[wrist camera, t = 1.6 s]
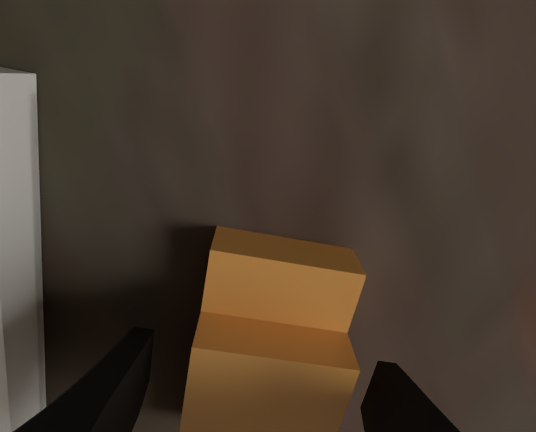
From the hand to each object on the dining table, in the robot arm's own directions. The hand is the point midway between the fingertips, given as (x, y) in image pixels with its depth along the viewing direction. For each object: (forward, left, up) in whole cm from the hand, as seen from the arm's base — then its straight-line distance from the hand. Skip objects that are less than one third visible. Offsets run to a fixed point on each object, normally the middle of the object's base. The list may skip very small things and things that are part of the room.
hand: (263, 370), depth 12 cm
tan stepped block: (0, 0, -2) cm, 2 cm away
